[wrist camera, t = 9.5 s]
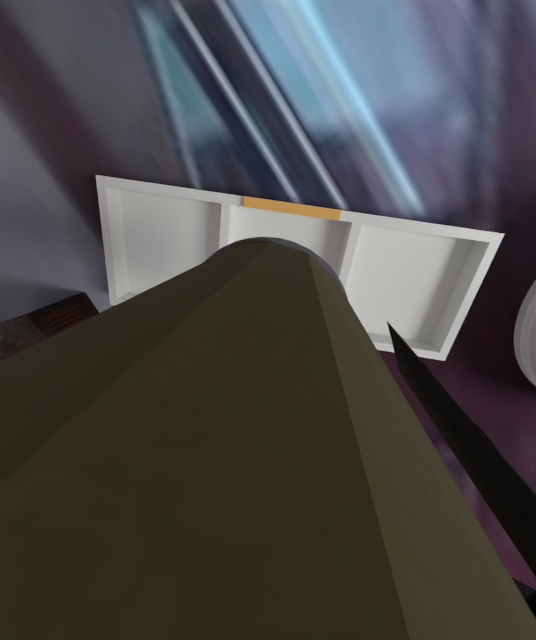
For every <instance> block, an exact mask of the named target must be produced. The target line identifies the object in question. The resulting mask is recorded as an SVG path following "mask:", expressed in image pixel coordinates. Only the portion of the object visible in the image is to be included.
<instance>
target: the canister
mask: <svg viewBox="0 0 536 640" xmlns="http://www.w3.org/2000/svg"><path fill="white" fill-rule="evenodd" d="M387 324H388V328H389V332H390V336H391V340H392V344H393V348H394V352H395V356H396V360H397V364H398V368H399V371H400V373H401V374H402V376H403V377H404V379H405V381H406V382H407V384H408V385H409V387H410V388H411V390H412V391H413V393H414V394H415V396H416V397H417V399H418V400H419V402H420V403H421V405H422V406H423V408H424V409H425V411H426V412H427V414H428V415H429V417H430V418H431V420H432V421H433V423H434V424H435V426H436V427H437V429H438V430H439V432H440V433H441V435H442V436H443V438H444V439H445V441H446V442H447V444H448V445H449V447H450V448H451V450H452V451H453V453H454V454H455V456H456V457H457V459H458V460H459V462H460V463H461V465H462V466H463V468H464V469H465V471H466V472H467V474H468V475H469V477H470V478H471V480H472V481H473V483H474V484H475V486H476V487H477V489H478V490H479V492H480V493H481V495H482V497H483V498H484V500H485V501H486V503H487V504H488V506H489V507H490V509H491V510H492V512H493V513H494V515H495V516H496V518H497V519H498V521H499V522H500V524H501V525H502V527H503V528H504V530H505V531H506V533H507V534H508V536H509V537H510V539H511V540H512V542H513V543H514V545H515V546H516V548H517V549H518V551H519V552H520V554H521V555H522V557H523V558H524V560H525V561H526V563H527V564H528V566H529V567H530V569H531V570H532V572H533V573H534V575H535V576H536V492H535V491H534V490H533V489H532V488H531V486H530V485H529V484H528V483H527V482H526V481H525V479H524V478H523V477H522V476H521V475H520V474H519V473H518V471H517V470H516V469H515V468H514V467H513V466H512V464H511V463H510V462H509V461H508V460H507V459H506V458H505V456H504V455H503V454H502V453H501V452H500V451H499V449H498V448H497V447H496V446H495V445H494V444H493V443H492V441H491V440H490V439H489V438H488V437H487V436H486V434H485V433H484V432H483V431H482V430H481V429H480V428H479V426H478V425H477V424H476V423H475V422H474V421H473V419H472V418H471V417H470V416H469V415H468V414H467V412H466V411H465V410H464V409H463V408H462V407H461V406H460V404H459V403H458V402H457V401H456V400H455V399H454V397H453V396H452V395H451V394H450V393H449V392H448V391H447V389H446V388H445V387H444V386H443V385H442V384H441V382H440V381H439V380H438V379H437V378H436V377H435V376H434V374H433V373H432V372H431V371H430V370H429V369H428V367H427V366H426V365H425V364H424V363H423V362H422V361H421V359H420V358H419V357H418V356H417V355H416V354H415V352H414V351H413V350H412V349H411V348H410V347H409V345H408V344H407V343H406V342H405V341H404V340H403V339H402V337H401V336H400V335H399V334H398V333H397V332H396V330H395V329H394V328H393V327H392V326H391V325H390V324H389V322H388V321H387ZM0 640H536V618H535V617H534V615H533V613H532V611H531V610H530V608H529V606H528V605H527V603H526V601H525V600H524V598H523V596H522V595H521V593H520V591H519V589H518V588H517V586H516V584H515V583H514V581H513V579H512V578H511V576H510V574H509V573H508V571H507V569H506V567H505V566H504V564H503V562H502V561H501V559H500V557H499V556H498V554H497V552H496V550H495V549H494V547H493V545H492V544H491V542H490V540H489V539H488V537H487V535H486V534H485V532H484V530H483V528H482V527H481V525H480V523H479V522H478V520H477V518H476V517H475V515H474V513H473V512H472V510H471V508H470V506H469V505H468V503H467V501H466V500H465V498H464V496H463V495H462V493H461V491H460V490H459V488H458V486H457V484H456V483H455V481H454V479H453V478H452V476H451V474H450V473H449V471H448V469H447V467H446V466H445V464H444V462H443V461H442V459H441V457H440V456H439V454H438V452H437V451H436V449H435V447H434V445H433V444H432V442H431V440H430V439H429V437H428V435H427V434H426V432H425V430H424V429H423V427H422V425H421V423H420V422H419V420H418V418H417V417H416V415H415V413H414V412H413V410H412V408H411V406H410V405H409V403H408V401H407V400H406V398H405V396H404V395H403V393H402V391H401V390H400V388H399V386H398V384H397V383H396V381H395V379H394V378H393V376H392V374H391V373H390V371H389V369H388V368H387V366H386V364H385V362H384V361H383V359H382V357H381V356H380V354H379V352H378V351H377V349H376V347H375V345H374V344H373V342H372V340H371V339H370V337H369V335H368V334H367V332H366V330H365V329H364V327H363V325H362V323H361V322H360V320H359V318H358V317H357V315H356V313H355V312H354V310H353V308H352V307H351V305H350V303H349V301H348V297H347V294H346V292H345V289H344V287H343V284H342V283H341V281H340V279H339V278H338V276H337V274H336V273H335V272H334V270H333V269H332V268H331V267H330V266H329V265H328V264H327V263H326V262H325V261H324V260H323V259H322V258H321V257H320V256H318V255H317V254H316V253H314V252H313V251H312V250H310V249H308V248H306V247H304V246H302V245H300V244H298V243H295V242H293V241H289V240H285V239H282V238H274V237H254V238H247V239H243V240H239V241H235V242H233V243H231V244H229V245H227V246H224V247H222V248H220V249H219V250H218V251H216V252H215V253H213V254H212V255H211V256H210V257H209V258H208V259H206V260H205V261H204V262H203V263H202V264H200V265H197V266H195V267H193V268H191V269H189V270H187V271H185V272H183V273H181V274H179V275H177V276H175V277H173V278H171V279H169V280H167V281H165V282H163V283H161V284H159V285H156V286H154V287H152V288H150V289H148V290H146V291H144V292H142V293H140V294H138V295H136V296H134V297H132V298H130V299H128V300H126V301H124V302H122V303H120V304H118V305H115V306H113V307H111V308H109V309H107V310H105V311H103V312H101V313H99V314H97V315H95V316H93V317H91V318H89V319H87V320H85V321H83V322H81V323H79V324H77V325H74V326H72V327H70V328H68V329H66V330H64V331H62V332H60V333H58V334H56V335H54V336H52V337H50V338H48V339H46V340H44V341H42V342H40V343H38V344H36V345H33V346H31V347H29V348H27V349H25V350H23V351H21V352H19V353H17V354H15V355H13V356H11V357H9V358H7V359H5V360H3V361H1V362H0Z"/></svg>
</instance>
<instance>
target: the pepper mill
mask: <svg viewBox="0 0 536 640" xmlns="http://www.w3.org/2000/svg"><path fill="white" fill-rule="evenodd" d="M97 314H99V312H98V311H97V309H96V308H95V306H94V305H93V303H92V302H91V300H90V299H89V297H88V296H87V294H86V293H81V294H77V295H73V296H70V297H68V298H66V299H63V300H61V301H59V302H56V303H53V304H51V305H48V306H45V307H43V308H40V309H37V310H35V311H32V312H30V313H27V314H25V315H22V316H19V317H16V318H13V319H10V320H8V321H5V322H2V323H0V362H1V361H3V360H5V359H7V358H9V357H11V356H13V355H15V354H17V353H19V352H21V351H23V350H25V349H27V348H29V347H31V346H33V345H36V344H38V343H40V342H42V341H44V340H46V339H48V338H50V337H52V336H54V335H56V334H58V333H60V332H62V331H64V330H66V329H68V328H70V327H72V326H74V325H77V324H79V323H81V322H83V321H85V320H87V319H89V318H91V317H93V316H95V315H97Z"/></svg>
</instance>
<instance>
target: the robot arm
mask: <svg viewBox="0 0 536 640" xmlns="http://www.w3.org/2000/svg"><path fill="white" fill-rule="evenodd" d="M511 578H512V577H511ZM512 579H513V581H514V583H515V584H516V586H517V588H518V589H519V591H520V593H521V595H522V596H523V598H524V600H525V601H526V603H527V605H528V606H529V608H530V610H531V611H532V613H533V615H534V617H535V618H536V590H535V589H533V588H531V587H529V586H527V585H526V584H524V583H522V582H520V581H518V580H516V579H514V578H512Z"/></svg>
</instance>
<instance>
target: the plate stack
mask: <svg viewBox="0 0 536 640" xmlns="http://www.w3.org/2000/svg"><path fill="white" fill-rule="evenodd" d="M514 350H515V355H516V359H517V362H518V364H519V366H520V368H521V370H522V372H523V373H524V375H525V376H526V377H527V379H528V380H529V381H530V382H531V383H532V384H533V385H534V386H536V280H535V281H534V283H533V284H532V286H531V288H530V289H529V291H528V293H527V294H526V296H525V298H524V300H523V303H522V305H521V307H520V310H519V313H518V316H517V320H516V324H515V329H514Z"/></svg>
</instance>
